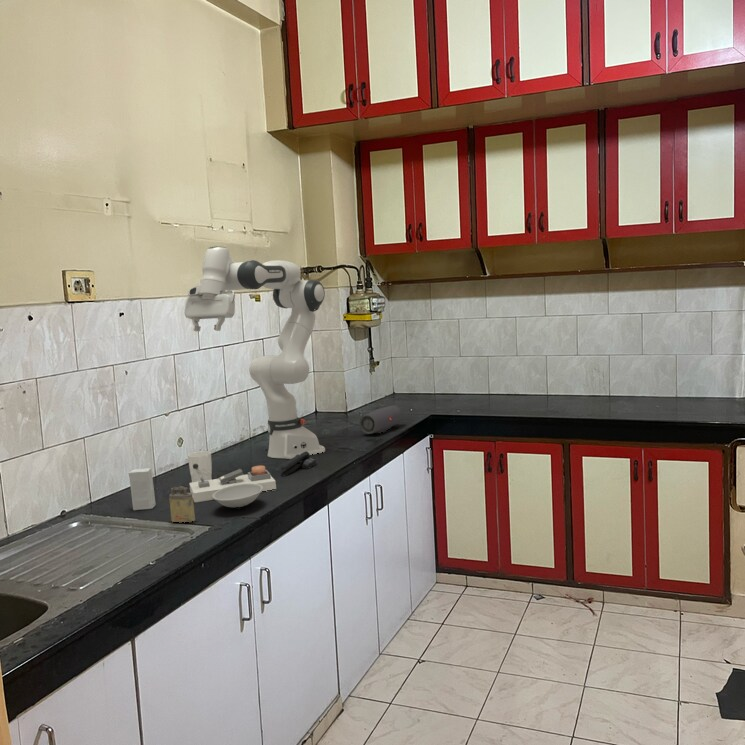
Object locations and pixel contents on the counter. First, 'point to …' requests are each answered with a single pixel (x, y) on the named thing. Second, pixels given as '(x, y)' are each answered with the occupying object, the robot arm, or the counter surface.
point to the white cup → (200, 465)
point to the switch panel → (208, 487)
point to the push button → (258, 470)
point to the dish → (237, 494)
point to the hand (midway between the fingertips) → (206, 330)
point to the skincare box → (142, 489)
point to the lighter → (181, 505)
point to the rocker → (231, 475)
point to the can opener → (298, 463)
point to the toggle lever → (198, 472)
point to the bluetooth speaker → (380, 420)
